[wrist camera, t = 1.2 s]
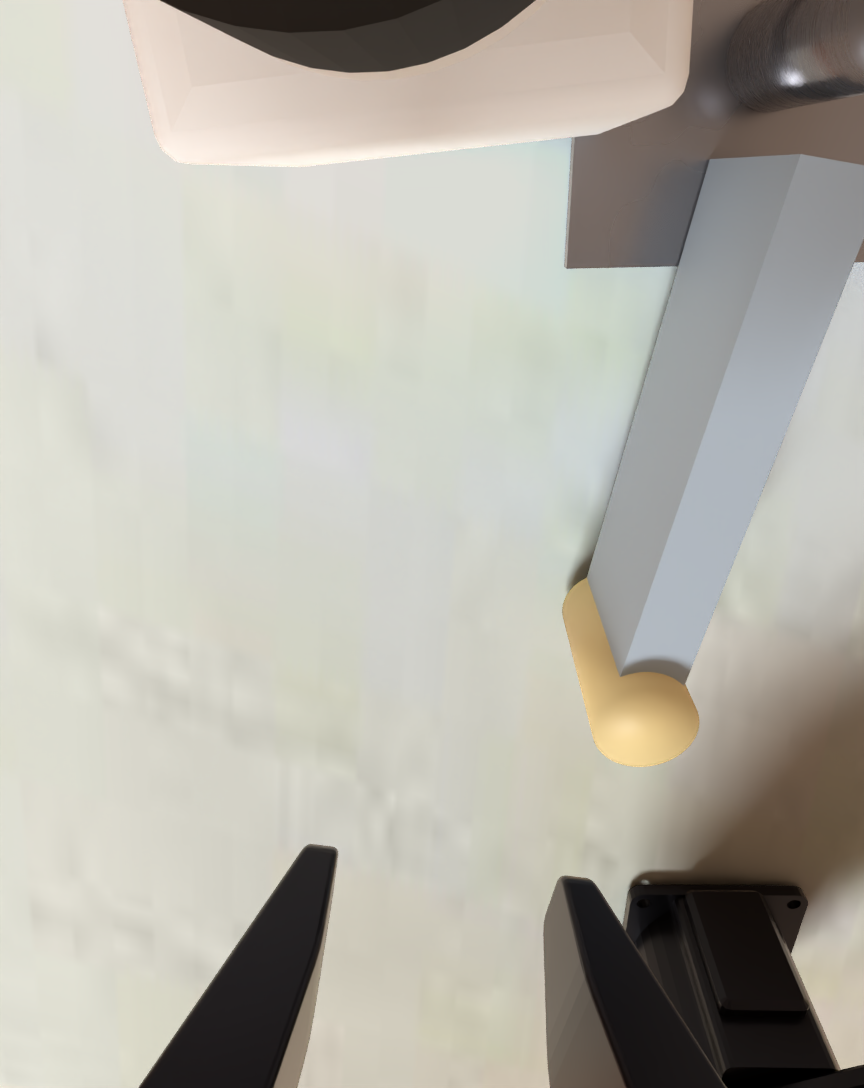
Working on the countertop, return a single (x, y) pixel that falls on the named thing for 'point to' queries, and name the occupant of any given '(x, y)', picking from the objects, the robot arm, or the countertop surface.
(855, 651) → the countertop surface
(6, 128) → the countertop surface
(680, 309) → the gate
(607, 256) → the peg on base plate
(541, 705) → the countertop surface
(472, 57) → the medicine bottle
